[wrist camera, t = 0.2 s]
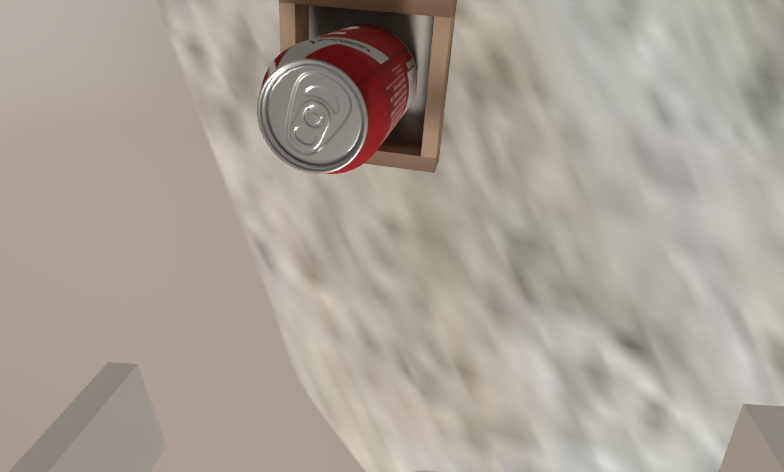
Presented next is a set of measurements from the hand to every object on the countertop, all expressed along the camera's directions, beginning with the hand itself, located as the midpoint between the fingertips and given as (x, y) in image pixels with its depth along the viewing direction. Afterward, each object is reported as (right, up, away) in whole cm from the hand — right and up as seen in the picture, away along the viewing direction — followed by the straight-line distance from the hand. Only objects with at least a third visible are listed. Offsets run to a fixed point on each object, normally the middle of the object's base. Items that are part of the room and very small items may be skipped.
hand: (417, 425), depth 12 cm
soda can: (-2, +15, +24) cm, 28 cm away
